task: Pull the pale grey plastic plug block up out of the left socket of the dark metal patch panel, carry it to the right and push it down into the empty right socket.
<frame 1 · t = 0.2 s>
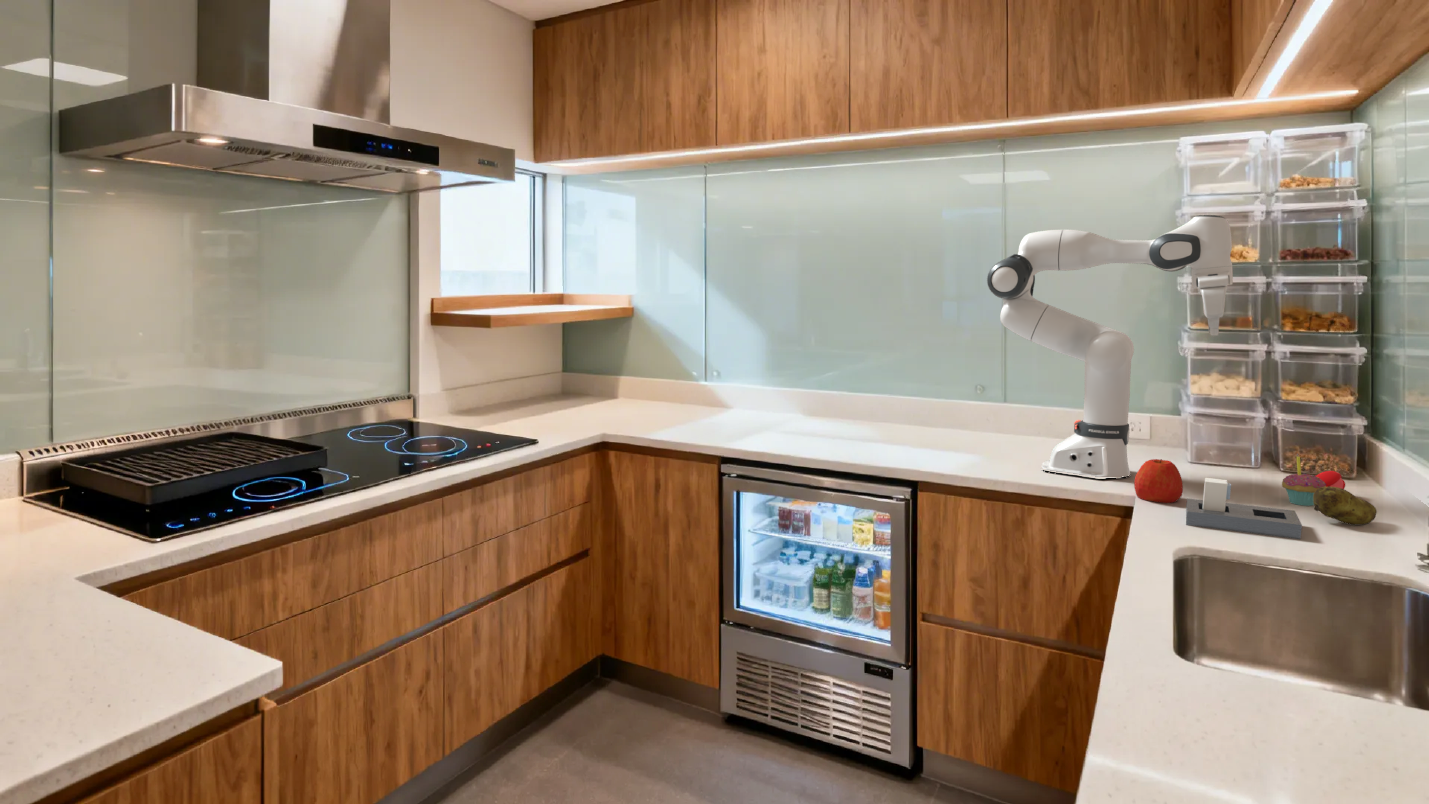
hand: (1213, 334, 205), 39 cm above the worktop, tool pointing down, fingers open, 8 cm apart
cupcake: (1301, 504, 192), on the worktop
apple: (1156, 502, 194), on the worktop
plug: (1212, 521, 175), point 1 cm above the worktop, touching panel
panel: (1239, 527, 173), on the worktop
cap: (1325, 496, 199), on the worktop
potato: (1344, 523, 176), on the worktop
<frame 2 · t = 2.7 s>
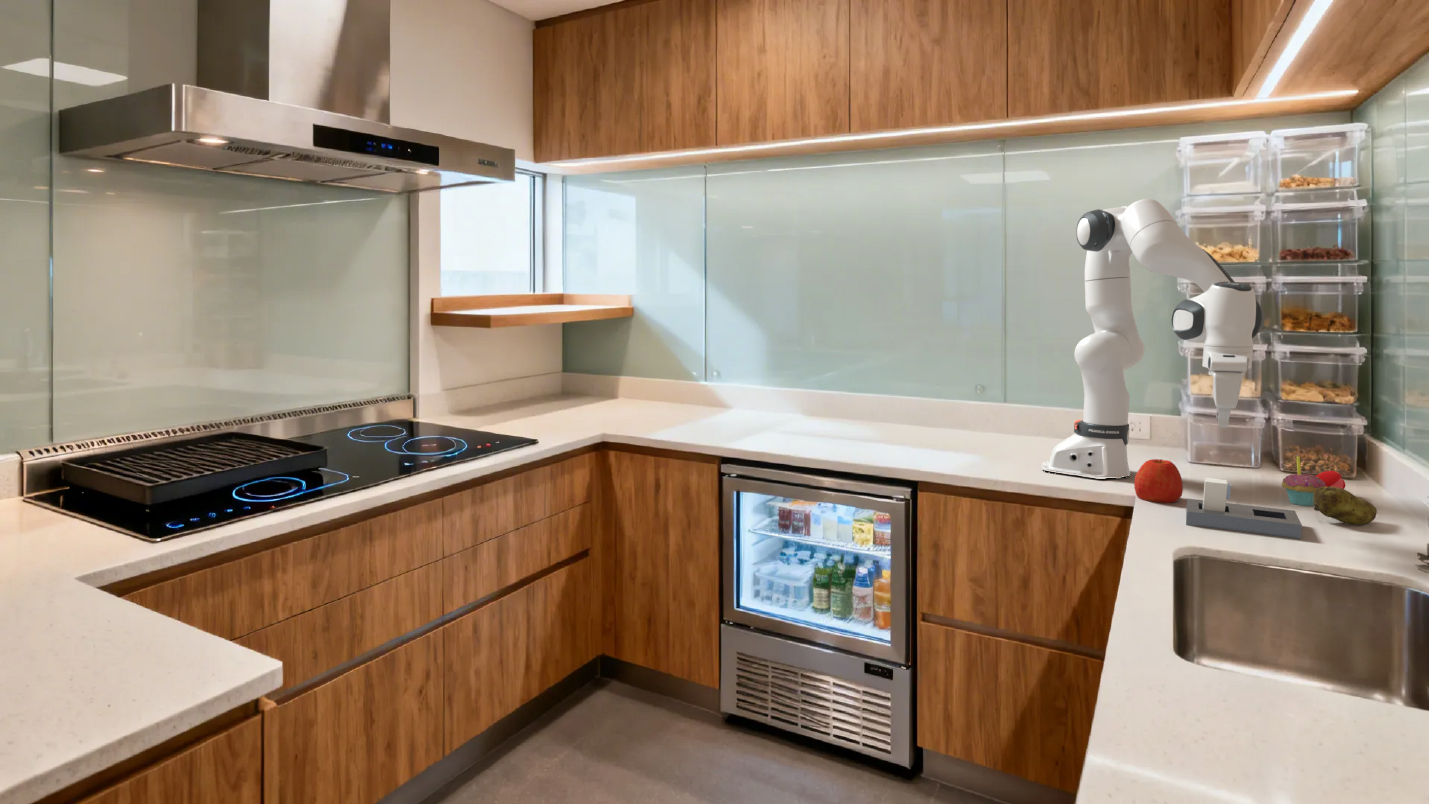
hand: (1221, 424, 172), 22 cm above the worktop, tool pointing down, fingers open, 8 cm apart
nothing on the worktop moved.
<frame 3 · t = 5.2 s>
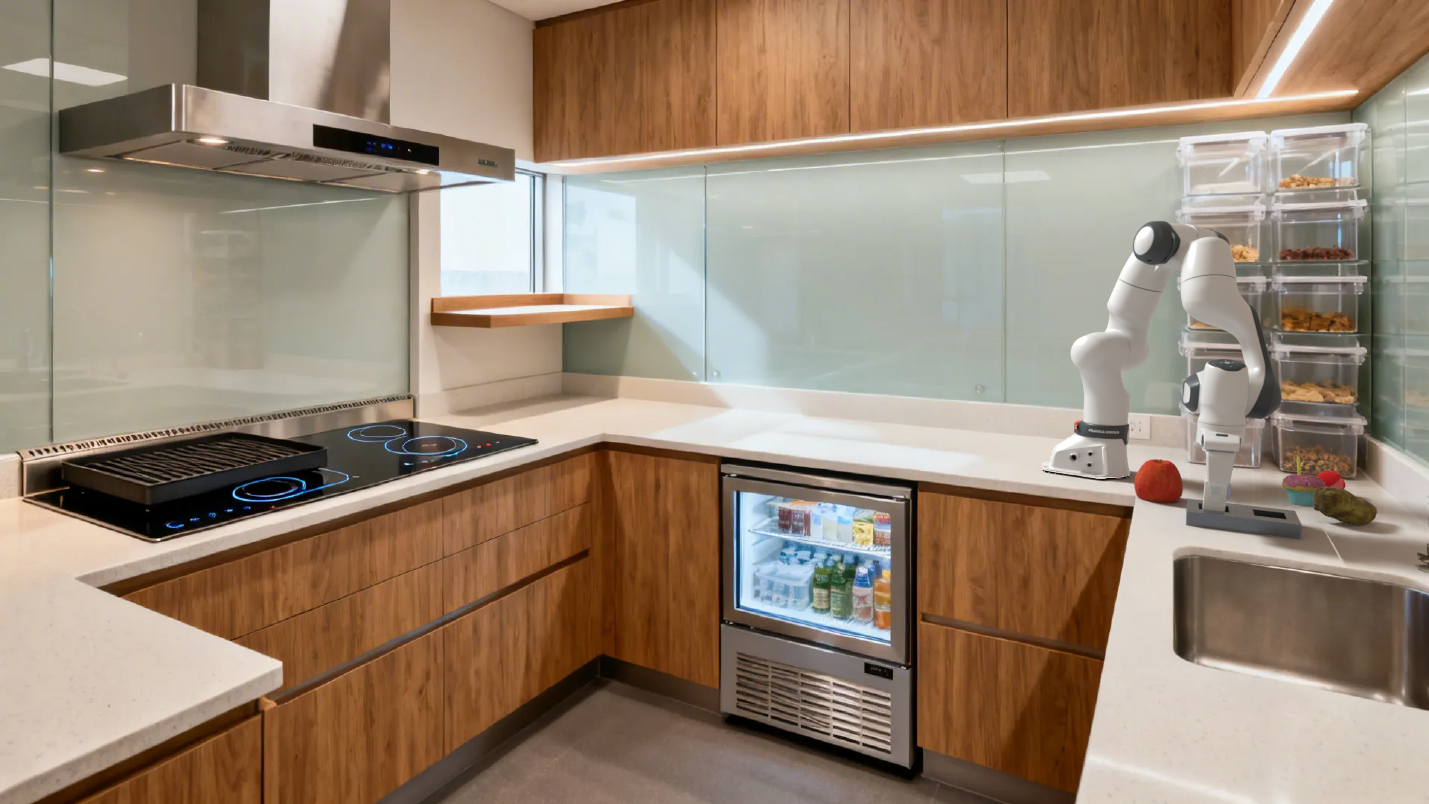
hand: (1214, 498, 175), 6 cm above the worktop, tool pointing down, fingers closed on plug, 4 cm apart
plug: (1212, 521, 175), point 1 cm above the worktop, touching gripper, panel
everything else where it was.
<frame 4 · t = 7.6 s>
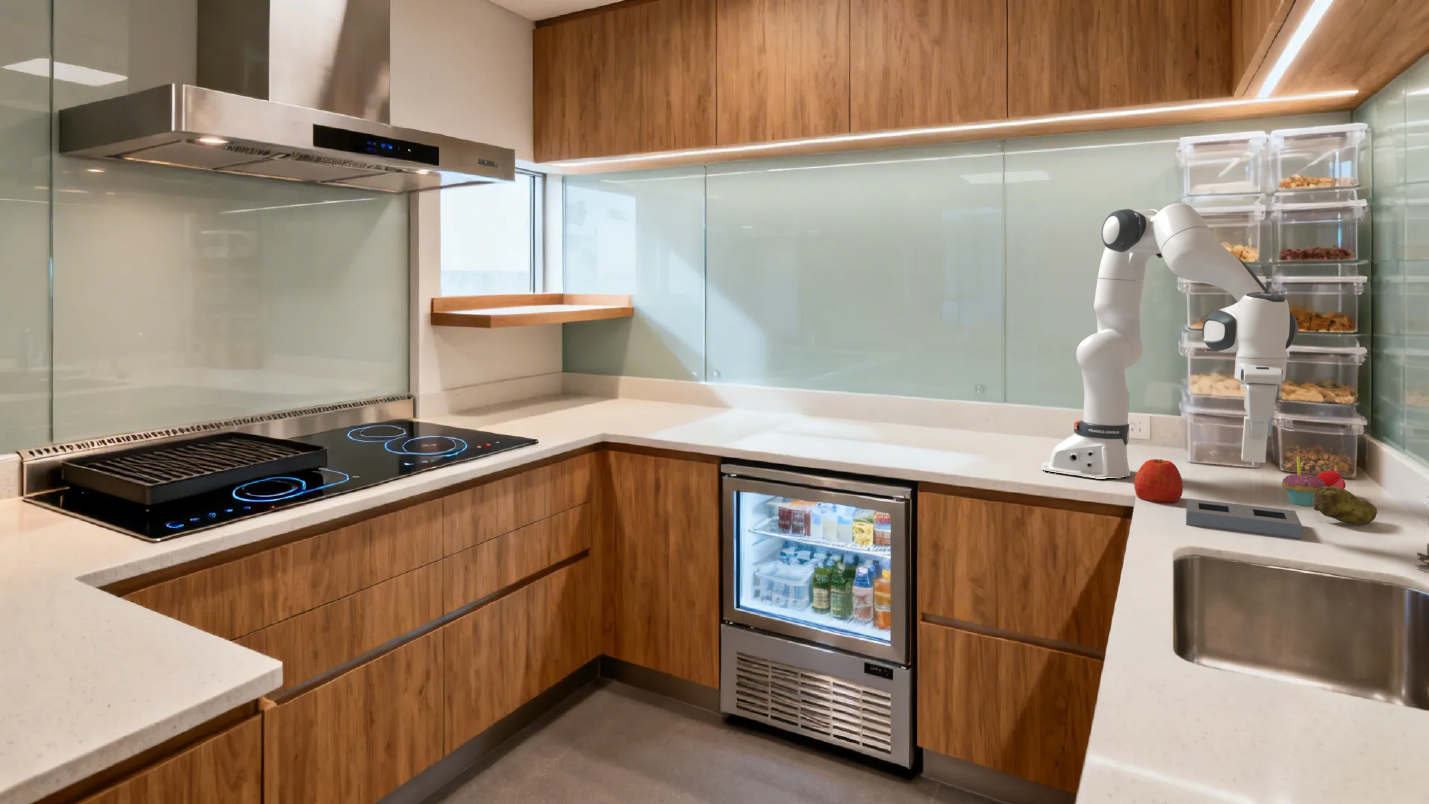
hand: (1254, 436, 169), 20 cm above the worktop, tool pointing down, fingers closed on plug, 4 cm apart
plug: (1253, 460, 170), point 15 cm above the worktop, touching gripper
everything else where it was.
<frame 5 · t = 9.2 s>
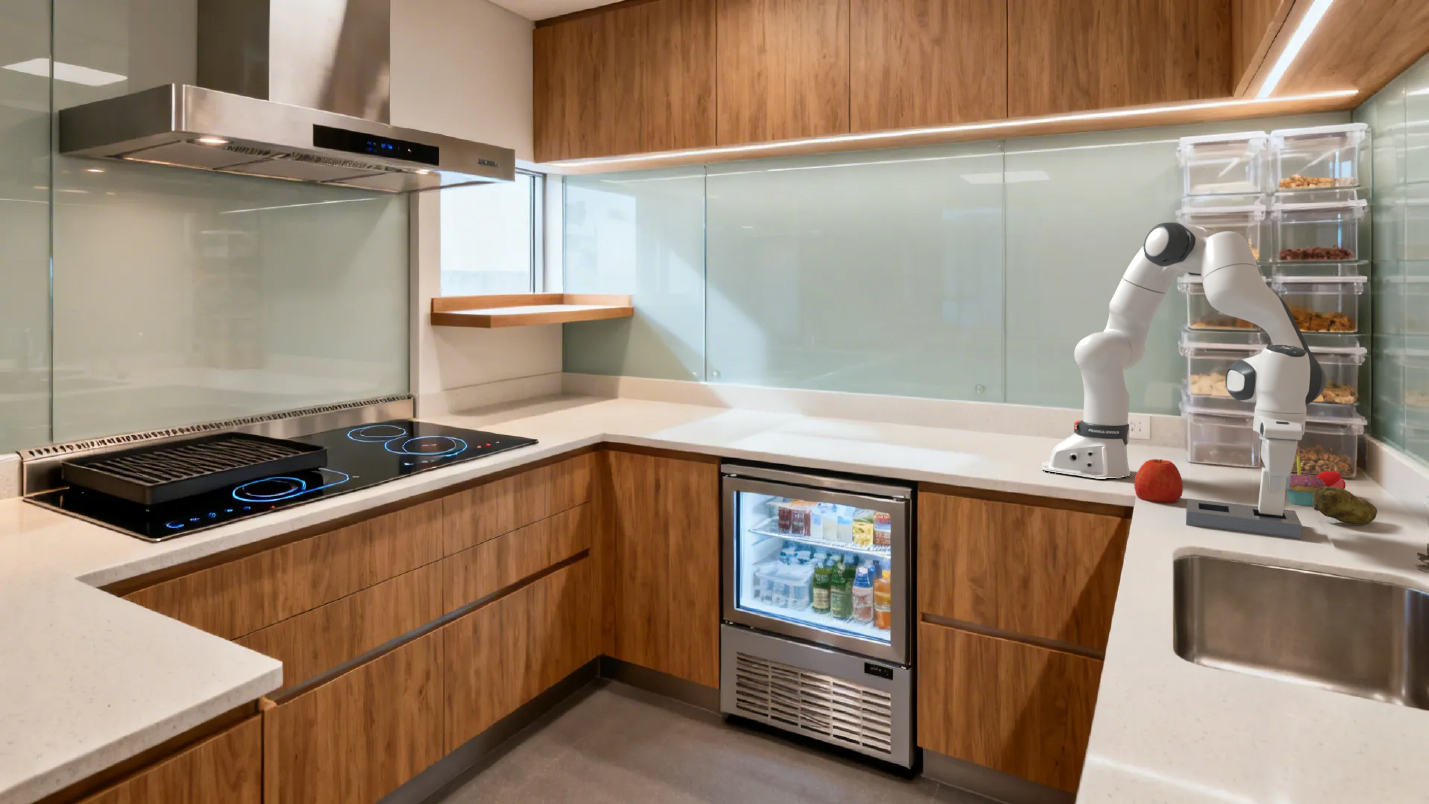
hand: (1272, 489, 169), 9 cm above the worktop, tool pointing down, fingers closed on plug, 4 cm apart
plug: (1270, 512, 170), point 4 cm above the worktop, touching gripper
everything else where it was.
when the fingers open (7 cm above the worktop, at t = 10.4 s): plug stays where it is, resting on panel.
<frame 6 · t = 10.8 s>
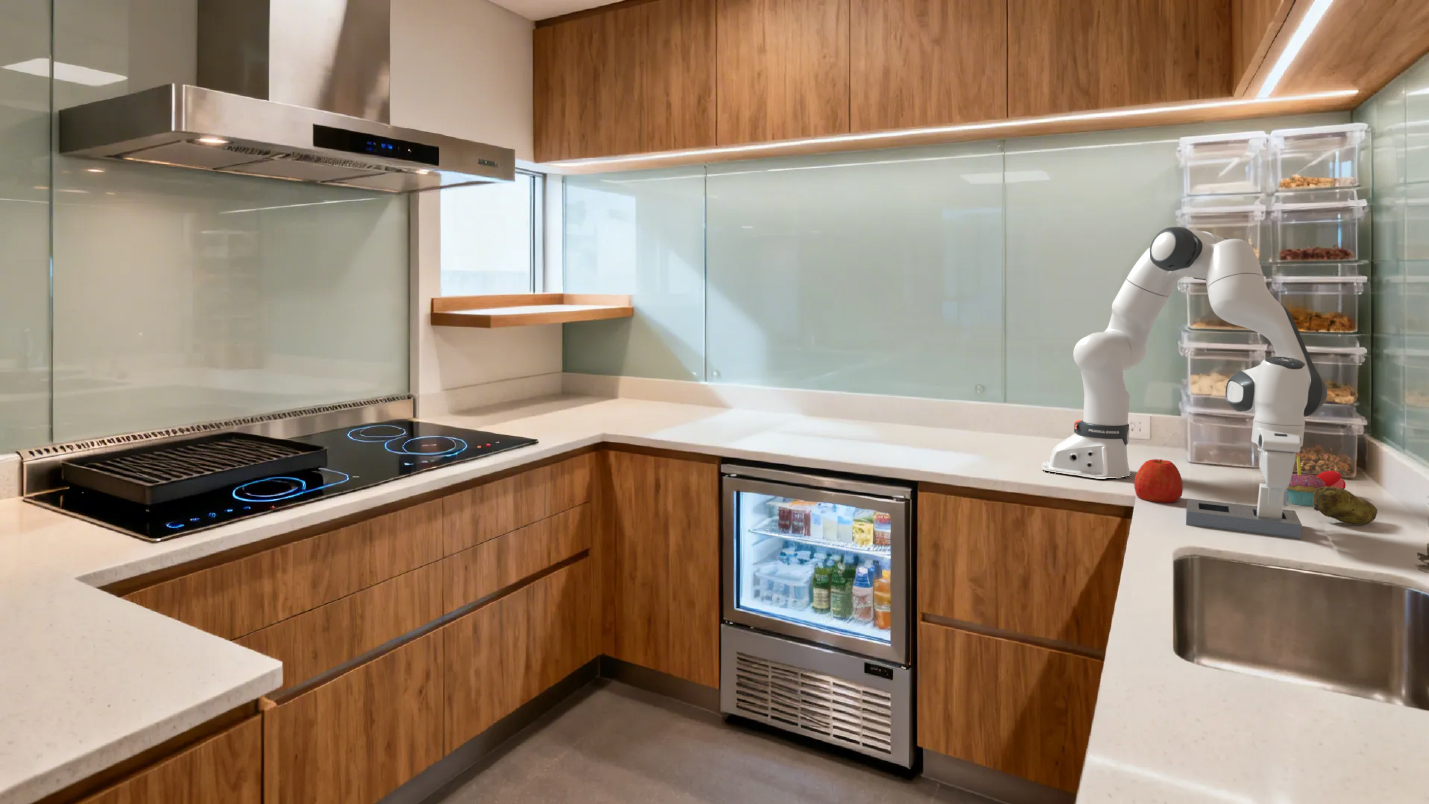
hand: (1270, 500, 170), 7 cm above the worktop, tool pointing down, fingers open, 8 cm apart
plug: (1267, 527, 171), point 1 cm above the worktop, touching panel
everything else where it was.
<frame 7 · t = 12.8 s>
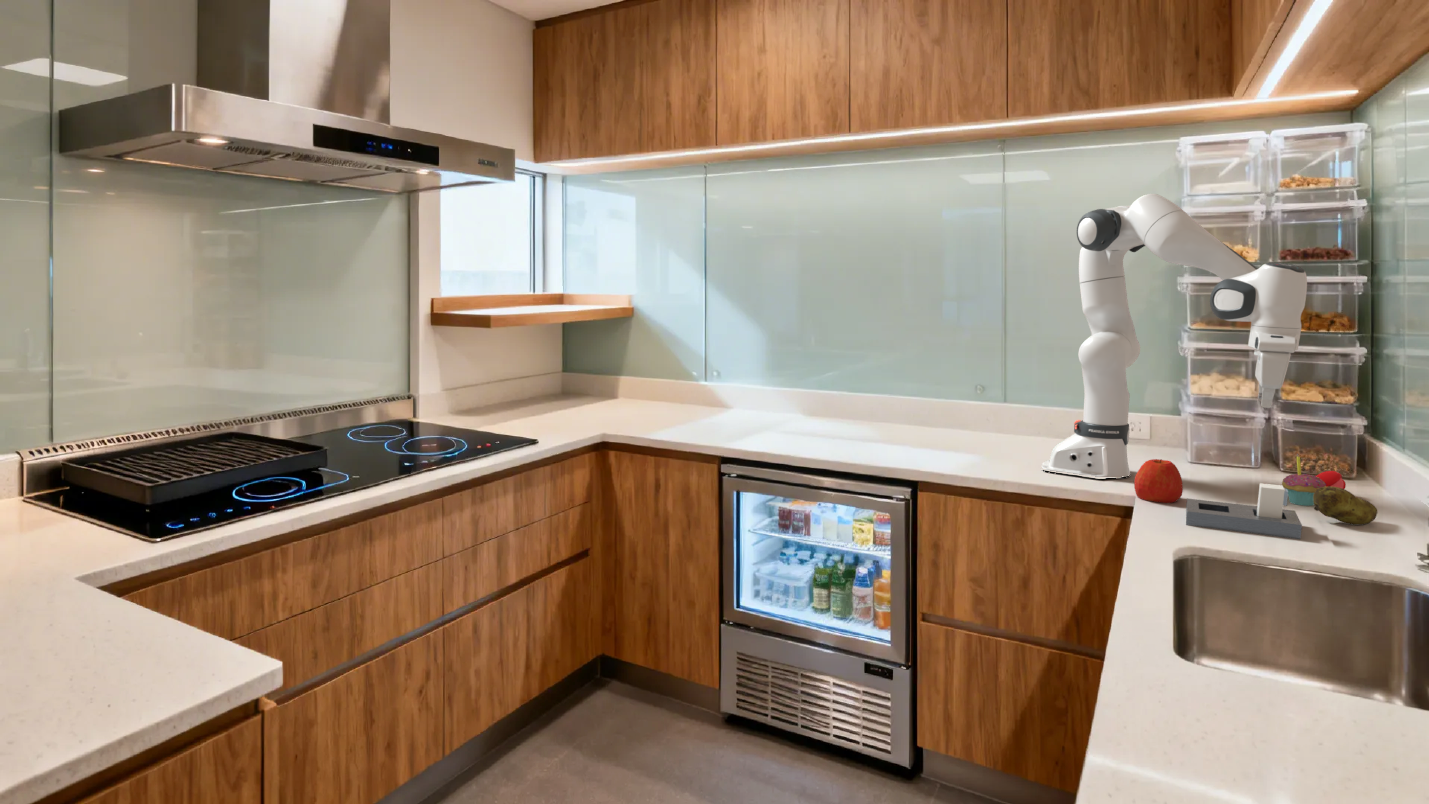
hand: (1264, 404, 174), 26 cm above the worktop, tool pointing down, fingers open, 8 cm apart
nothing on the worktop moved.
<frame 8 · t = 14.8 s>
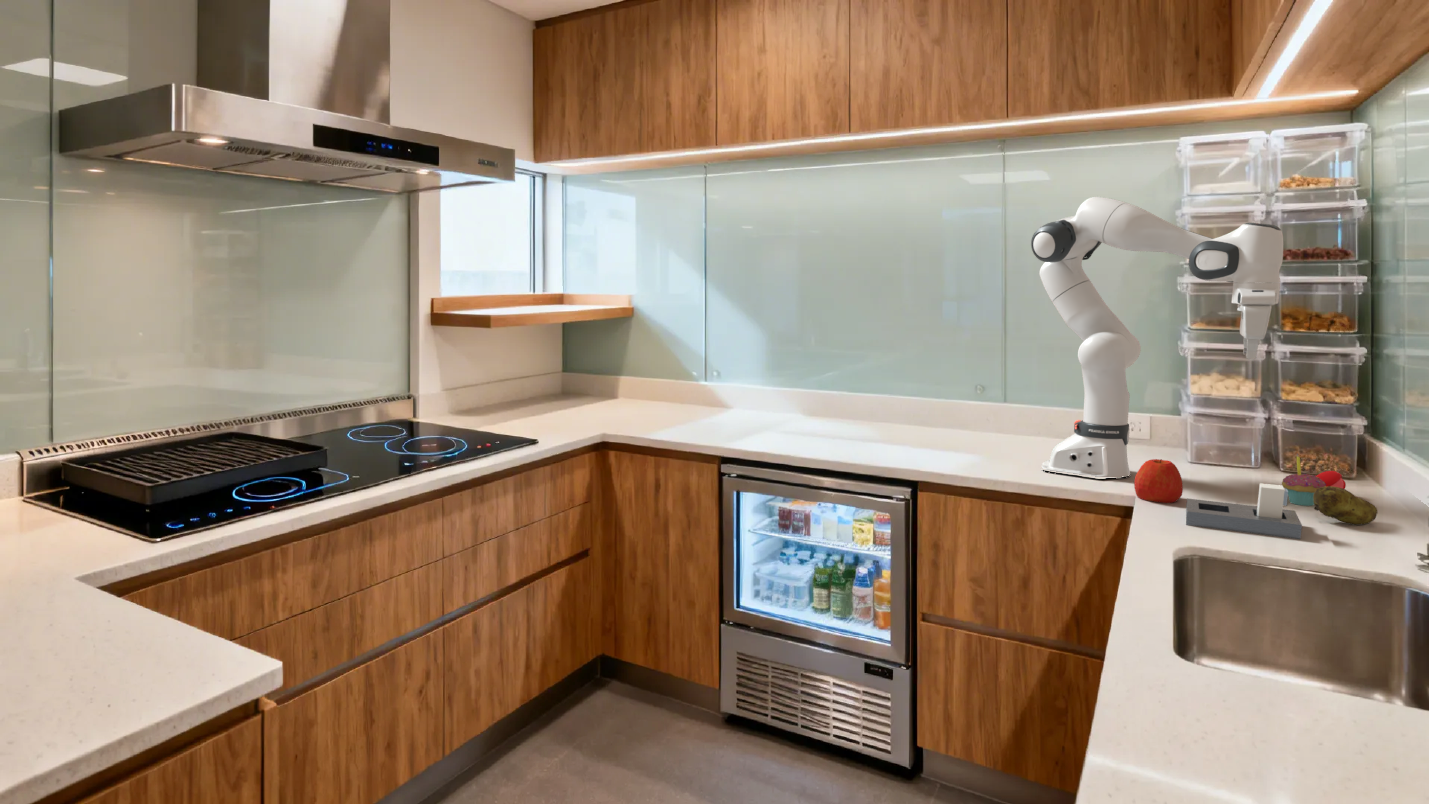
hand: (1249, 357, 183), 35 cm above the worktop, tool pointing down, fingers open, 8 cm apart
nothing on the worktop moved.
at the end: plug 0.1 cm from the target spot on the panel, point 0.6 cm above the panel's base; plug tilted 0°; the gripper is holding nothing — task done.
